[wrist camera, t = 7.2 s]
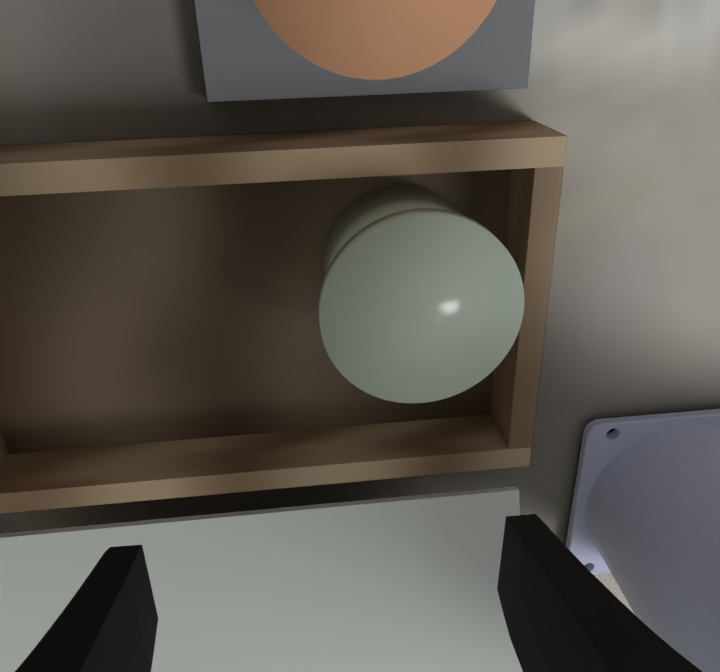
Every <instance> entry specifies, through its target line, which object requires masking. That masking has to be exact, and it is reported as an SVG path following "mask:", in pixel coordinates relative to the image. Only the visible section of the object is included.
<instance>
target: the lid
mask: <svg viewBox="0 0 720 672" xmlns="http://www.w3.org/2000/svg"><path fill="white" fill-rule="evenodd" d="M518 515H520V500H519V489H518V488H517V487H516V486H511V487H500V488H489V489H479V490H468V491H457V492H446V493H435V494H424V495H413V496H403V497H392V498H381V499H370V500H359V501H348V502H337V503H327V504H316V505H305V506H294V507H283V508H272V509H261V510H251V511H240V512H229V513H218V514H207V515H196V516H186V517H175V518H164V519H153V520H142V521H131V522H120V523H110V524H99V525H88V526H77V527H66V528H55V529H44V530H34V531H23V532H12V533H1V534H0V672H15V671H16V670H17V669H18V667H19V666H20V665H21V664H22V663H23V661H24V660H25V659H26V658H27V657H28V655H29V654H30V653H31V652H32V650H33V649H34V648H35V647H36V645H37V644H38V643H39V642H40V640H41V639H42V638H43V636H44V635H45V634H46V632H47V631H48V630H49V629H50V627H51V626H52V625H53V623H54V622H55V621H56V619H57V618H58V617H59V615H60V614H61V613H62V612H63V610H64V609H65V608H66V606H67V605H68V603H69V602H70V601H71V599H72V598H73V597H74V595H75V594H76V592H77V591H78V590H79V588H80V587H81V585H82V584H83V583H84V581H85V580H86V578H87V577H88V576H89V574H90V573H91V571H92V570H93V568H94V567H95V565H96V564H97V563H98V561H99V560H100V558H101V557H102V555H103V554H104V552H105V551H106V550H107V549H108V548H109V547H117V546H130V545H142V547H143V551H144V556H145V560H146V565H147V570H148V574H149V579H150V583H151V588H152V592H153V597H154V601H155V606H156V611H157V615H158V624H157V631H156V639H155V647H154V654H153V661H152V668H151V672H523V670H522V668H521V665H520V663H519V660H518V658H517V655H516V652H515V650H514V647H513V644H512V642H511V639H510V636H509V632H508V629H507V625H506V621H505V618H504V614H503V610H502V606H501V602H500V598H499V594H498V590H497V586H498V577H499V569H500V561H501V553H502V545H503V537H504V529H505V521H506V516H518Z"/></svg>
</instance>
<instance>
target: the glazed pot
mask: <svg viewBox="0 0 720 672" xmlns="http://www.w3.org/2000/svg"><path fill="white" fill-rule="evenodd" d="M323 269H324V279H323V282H322V285H321V289H320V295H319V323H320V330H321V336H322V340H323V343H324V347H325V349H326V351H327V353H328V355H329V358H330V359H331V361H332V362H333V364H334V365H335V367H336V368H337V369H338V370H339V372H340V373H341V374H342V375H343V376H344V377H345V378H346V379H347V380H348V381H350V382H351V383H352V384H353V385H355V386H356V387H358V388H359V389H361V390H362V391H364V392H366V393H368V394H370V395H372V396H375V397H378V398H381V399H384V400H388V401H393V402H399V403H426V402H433V401H437V400H441V399H445V398H448V397H451V396H454V395H457V394H459V393H461V392H463V391H465V390H467V389H469V388H471V387H472V386H474V385H475V384H477V383H479V382H480V381H481V380H483V379H484V378H485V377H486V376H488V375H489V374H490V373H491V372H492V371H493V370H494V369H495V368H496V367H497V366H498V365H499V364H500V363H501V361H502V360H503V359H504V358H505V356H506V355H507V354H508V352H509V350H510V349H511V347H512V345H513V344H514V342H515V339H516V337H517V335H518V333H519V329H520V326H521V323H522V319H523V313H524V288H523V282H522V279H521V275H520V272H519V270H518V267H517V265H516V263H515V261H514V259H513V258H512V256H511V254H510V253H509V251H508V250H507V249H506V248H505V247H504V245H503V244H502V243H501V242H500V241H499V240H498V239H497V238H496V236H495V235H494V234H493V233H492V232H490V231H489V230H488V229H487V228H486V227H484V226H483V225H482V224H480V223H478V222H477V221H475V220H474V219H472V218H469V217H467V216H465V215H463V214H461V213H460V212H459V211H458V210H457V209H456V208H455V207H454V205H453V204H451V203H450V202H449V201H448V200H447V199H445V198H444V197H442V196H441V195H439V194H437V193H435V192H433V191H431V190H428V189H425V188H421V187H417V186H410V185H396V186H388V187H384V188H380V189H377V190H374V191H372V192H369V193H367V194H365V195H363V196H362V197H360V198H358V199H357V200H356V201H354V202H353V203H351V204H350V205H349V206H348V207H347V208H346V209H345V210H344V211H343V212H342V213H341V215H340V216H339V217H338V218H337V220H336V221H335V223H334V224H333V226H332V228H331V230H330V232H329V234H328V237H327V240H326V243H325V247H324V254H323Z"/></svg>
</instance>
